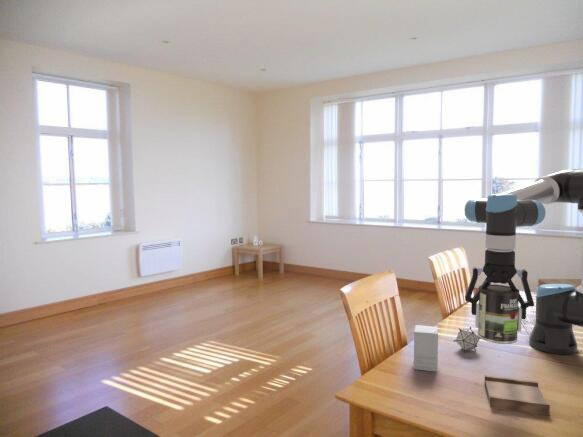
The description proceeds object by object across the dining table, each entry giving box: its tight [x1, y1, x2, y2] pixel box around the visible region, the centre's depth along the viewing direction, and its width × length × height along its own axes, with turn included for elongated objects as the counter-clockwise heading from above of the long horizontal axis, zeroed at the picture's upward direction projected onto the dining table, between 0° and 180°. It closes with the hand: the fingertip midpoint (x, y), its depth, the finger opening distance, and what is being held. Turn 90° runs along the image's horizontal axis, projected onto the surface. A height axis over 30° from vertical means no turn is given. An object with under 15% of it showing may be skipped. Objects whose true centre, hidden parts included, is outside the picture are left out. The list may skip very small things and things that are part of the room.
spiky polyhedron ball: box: [453, 326, 482, 353], centre depth 156 cm, size 9×8×10 cm
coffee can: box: [477, 284, 520, 345], centre depth 122 cm, size 10×10×14 cm
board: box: [484, 375, 551, 416], centre depth 121 cm, size 14×14×3 cm
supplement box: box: [413, 324, 439, 372], centre depth 142 cm, size 7×7×13 cm
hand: (497, 327), depth 122 cm, fingers closed on coffee can, 10 cm apart
